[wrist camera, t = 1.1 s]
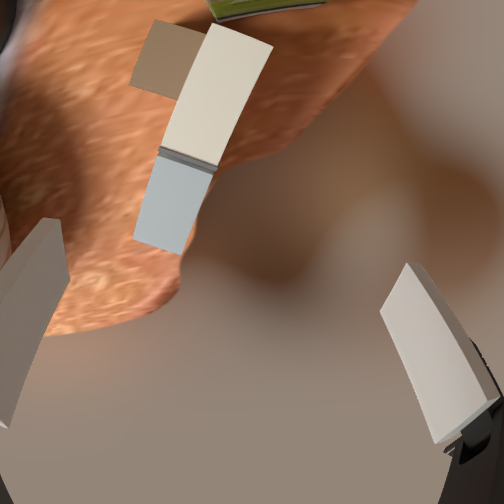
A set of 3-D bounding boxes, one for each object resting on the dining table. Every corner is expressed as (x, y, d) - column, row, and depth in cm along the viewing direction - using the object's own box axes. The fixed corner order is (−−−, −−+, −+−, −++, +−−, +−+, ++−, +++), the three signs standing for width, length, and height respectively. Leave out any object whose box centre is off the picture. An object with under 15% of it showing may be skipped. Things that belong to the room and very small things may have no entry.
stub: (160, 181, 33) (132, 239, 23) (182, 121, 29) (157, 155, 20) (194, 193, 34) (181, 255, 24) (219, 135, 30) (213, 175, 21)
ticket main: (138, 103, 28) (90, 129, 18) (171, 21, 23) (135, 1, 13) (222, 132, 30) (217, 172, 20) (259, 52, 26) (276, 47, 16)
